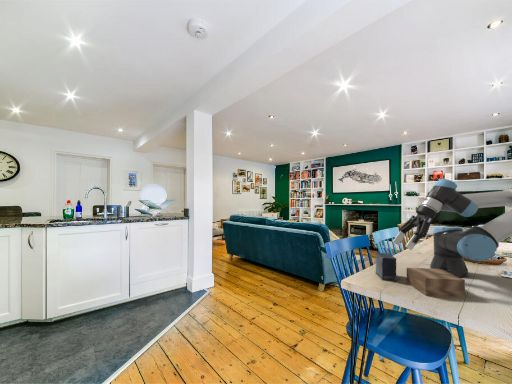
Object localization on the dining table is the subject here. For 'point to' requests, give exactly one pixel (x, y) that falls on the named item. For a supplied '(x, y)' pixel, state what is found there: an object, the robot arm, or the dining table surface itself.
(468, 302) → the dining table surface
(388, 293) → the dining table surface
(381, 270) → the small box
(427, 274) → the walnut block
